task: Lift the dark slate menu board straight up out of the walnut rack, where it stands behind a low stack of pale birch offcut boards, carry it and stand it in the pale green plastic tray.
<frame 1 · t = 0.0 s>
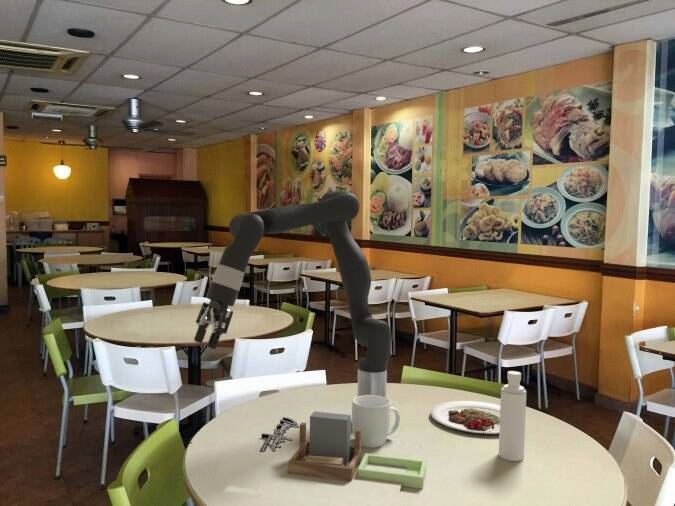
hand: (204, 344, 143), 31 cm above the table, tool tilted 20°, fingers open, 8 cm apart
mug: (373, 445, 160), on the table
plated food: (476, 421, 182), on the table
nameplate: (279, 438, 165), on the table
spray bottle: (511, 457, 154), on the table
rack: (326, 469, 144), on the table
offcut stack: (323, 474, 140), resting on rack
menu board: (329, 460, 147), point 1 cm above the table, touching rack
holder: (392, 475, 141), on the table
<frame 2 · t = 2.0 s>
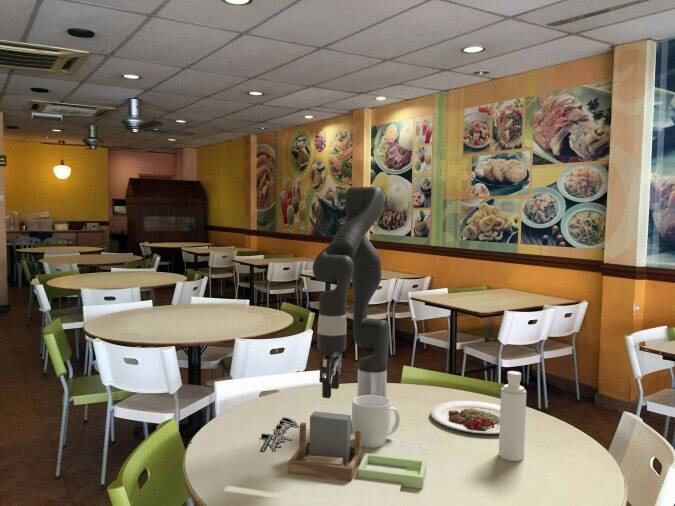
hand: (330, 392, 146), 19 cm above the table, tool pointing down, fingers open, 8 cm apart
nothing on the table moved.
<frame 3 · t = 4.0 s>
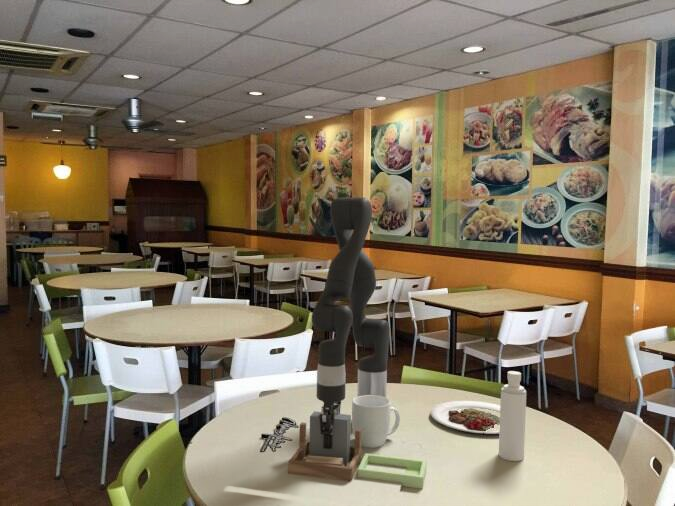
hand: (329, 444, 146), 5 cm above the table, tool pointing down, fingers closed on menu board, 4 cm apart
menu board: (329, 460, 147), point 1 cm above the table, touching gripper, rack
everything else where it was.
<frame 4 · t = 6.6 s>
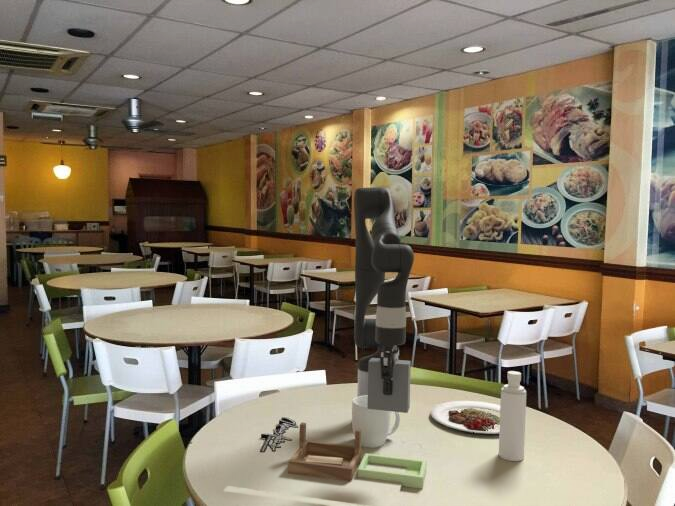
hand: (389, 391, 140), 21 cm above the table, tool pointing down, fingers closed on menu board, 4 cm apart
menu board: (388, 408, 140), point 17 cm above the table, touching gripper
everything else where it was.
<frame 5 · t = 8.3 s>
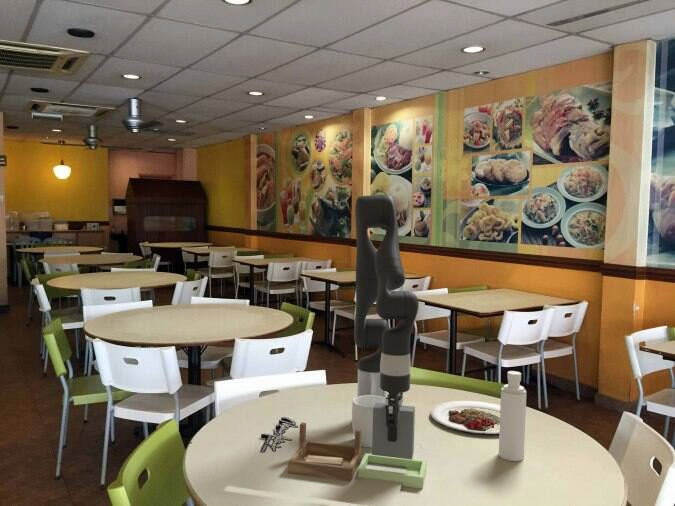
hand: (393, 437, 140), 10 cm above the table, tool pointing down, fingers closed on menu board, 4 cm apart
menu board: (392, 453, 141), point 6 cm above the table, touching gripper
everything else where it was.
when the fingers open (6 cm above the table, at t = 9.4 s): menu board stays where it is, resting on holder.
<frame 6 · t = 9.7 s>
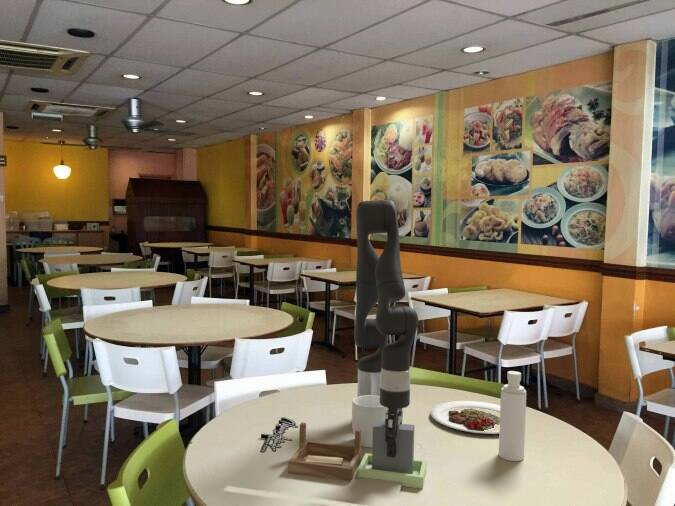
hand: (393, 451, 140), 6 cm above the table, tool pointing down, fingers open, 6 cm apart
menu board: (392, 472, 141), point 1 cm above the table, touching holder
everything else where it was.
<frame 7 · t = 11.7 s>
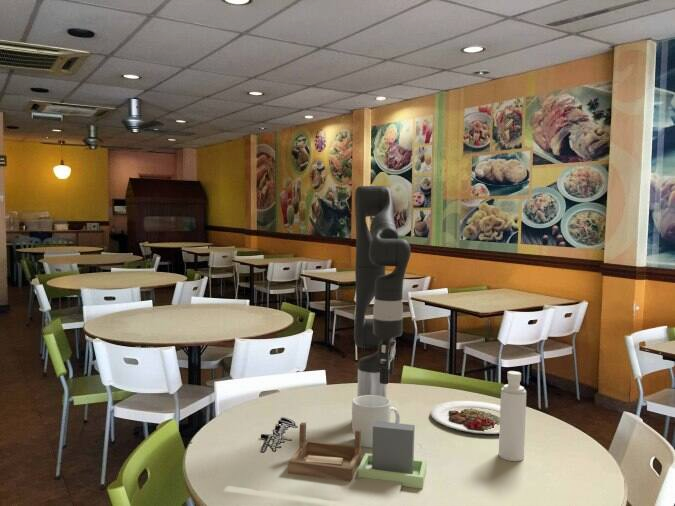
hand: (386, 378, 144), 24 cm above the table, tool pointing down, fingers open, 8 cm apart
nothing on the table moved.
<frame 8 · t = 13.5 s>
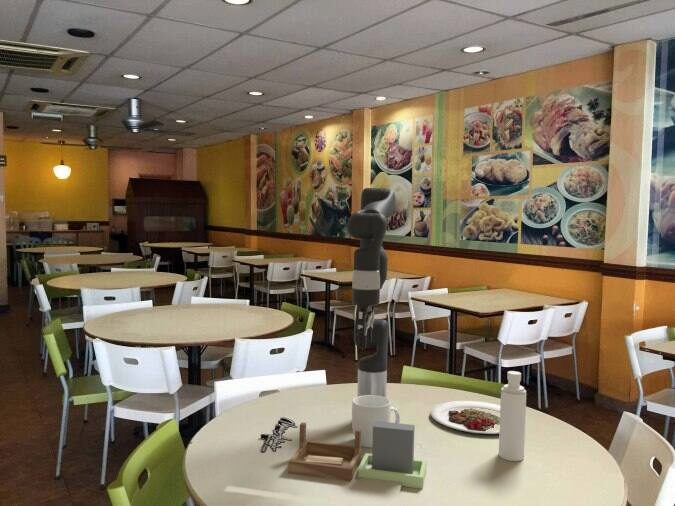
hand: (364, 345, 152), 30 cm above the table, tool pointing down, fingers open, 8 cm apart
nothing on the table moved.
at the end: menu board inside the target area on the holder (0.1 cm from its centre), point 0.8 cm above the holder's base; menu board tilted 0°; the gripper is holding nothing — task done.
